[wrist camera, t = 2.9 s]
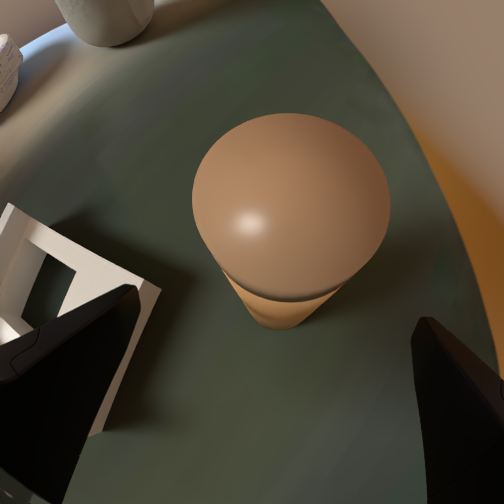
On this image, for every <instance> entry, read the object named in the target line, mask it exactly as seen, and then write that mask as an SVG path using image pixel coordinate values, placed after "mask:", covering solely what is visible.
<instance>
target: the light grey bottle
mask: <svg viewBox="0 0 504 504" xmlns="http://www.w3.org/2000/svg"><path fill="white" fill-rule="evenodd" d="M55 1H56V3H57V5H58V7H59V9H60V11H61V12H62V14H63V16H64V18H65V20H66V22H67V23H68V25H69V27H70V28H71V30H72V31H73V32H74V34H75V35H76V36H77V37H78V38H80V39H81V40H82V41H84V42H86V43H88V44H90V45H93V46H98V47H109V46H116V45H120V44H123V43H125V42H128V41H130V40H131V39H133V38H135V37H136V36H137V35H139V34H140V33H141V32H142V31H143V30H144V29H145V28H146V26H147V25H148V24H149V23H150V21H151V19H152V16H153V12H154V0H55Z"/></svg>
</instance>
